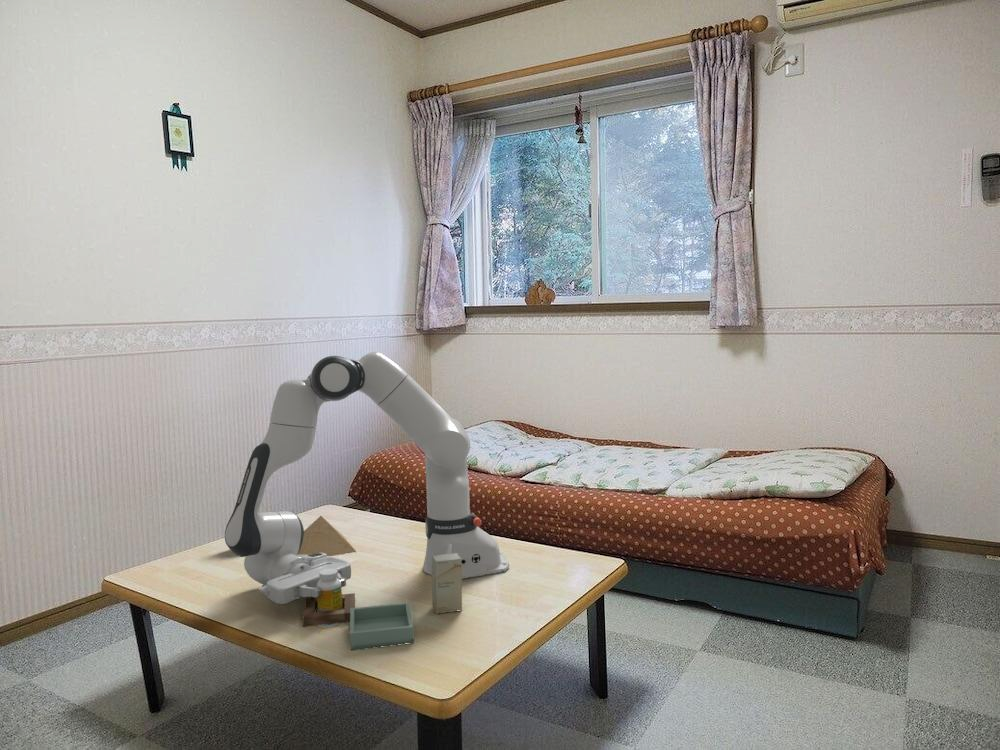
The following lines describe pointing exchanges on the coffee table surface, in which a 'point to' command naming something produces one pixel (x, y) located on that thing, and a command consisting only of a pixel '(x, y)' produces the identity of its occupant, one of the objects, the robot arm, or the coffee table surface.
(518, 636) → the coffee table surface
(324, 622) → the socket block
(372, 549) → the coffee table surface
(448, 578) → the skincare box
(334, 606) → the supplement bottle
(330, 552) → the model pyramid
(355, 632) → the tray
